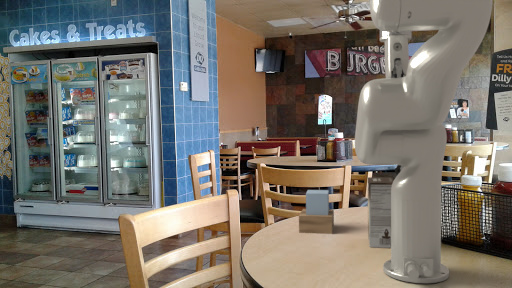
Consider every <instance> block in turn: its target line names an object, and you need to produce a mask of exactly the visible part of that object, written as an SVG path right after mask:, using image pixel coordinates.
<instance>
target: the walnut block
mask: <svg viewBox="0 0 512 288" xmlns="http://www.w3.org/2000/svg"><path fill="white" fill-rule="evenodd" d="M334 228H335V210H334V209H329V213H328V215H306V208H302V210H301V212H300V213H299V215H298V233H300V234H318V235H319V234H320V235H321V234H325V235H332V234H333V232H334Z"/></svg>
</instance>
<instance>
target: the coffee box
mask: <svg viewBox="0 0 512 288" xmlns="http://www.w3.org/2000/svg"><path fill="white" fill-rule="evenodd" d="M393 181H394V178H393V177H392V176H391V177H383V176H382V177H380V176H379V177H376V176H375V177H373V176H372V177H371V176H370V177H367V234H368V235H367V236H368V237H367V238H368V246H369V247H370V248H383V249H391V187H392V184H393Z"/></svg>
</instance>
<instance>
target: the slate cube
mask: <svg viewBox="0 0 512 288" xmlns="http://www.w3.org/2000/svg"><path fill="white" fill-rule="evenodd" d="M329 201H330V191H329V189H307V191H306V193H305V209H306V215H328V213H329V210H330V206H329V205H330V202H329Z"/></svg>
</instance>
